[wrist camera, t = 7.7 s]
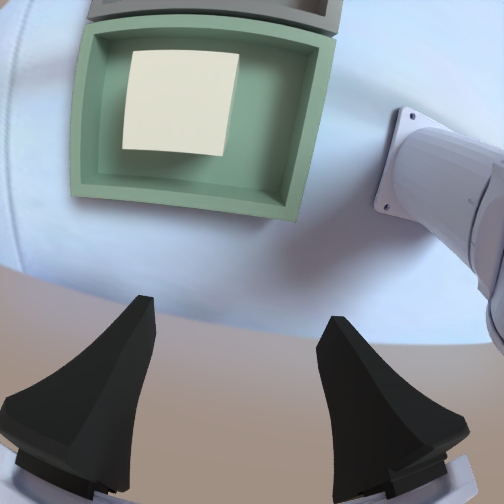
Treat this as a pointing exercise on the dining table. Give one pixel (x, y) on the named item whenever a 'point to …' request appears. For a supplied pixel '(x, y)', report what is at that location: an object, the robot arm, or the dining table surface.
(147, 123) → the stone block
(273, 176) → the tray
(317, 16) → the tray
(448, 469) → the robot arm
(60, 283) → the dining table surface
